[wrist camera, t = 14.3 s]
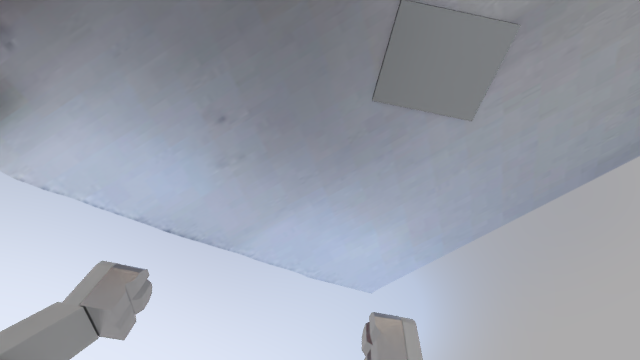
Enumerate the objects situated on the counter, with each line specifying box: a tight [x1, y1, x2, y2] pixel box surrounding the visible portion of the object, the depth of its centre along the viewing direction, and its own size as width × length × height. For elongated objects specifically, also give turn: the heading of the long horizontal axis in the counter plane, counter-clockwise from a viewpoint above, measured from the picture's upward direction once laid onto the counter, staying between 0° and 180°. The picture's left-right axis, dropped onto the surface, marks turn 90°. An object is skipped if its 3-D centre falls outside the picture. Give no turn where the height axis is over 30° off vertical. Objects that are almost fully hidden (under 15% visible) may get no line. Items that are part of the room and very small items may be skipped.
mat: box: [372, 0, 521, 121], centre depth 37 cm, size 14×12×1 cm
